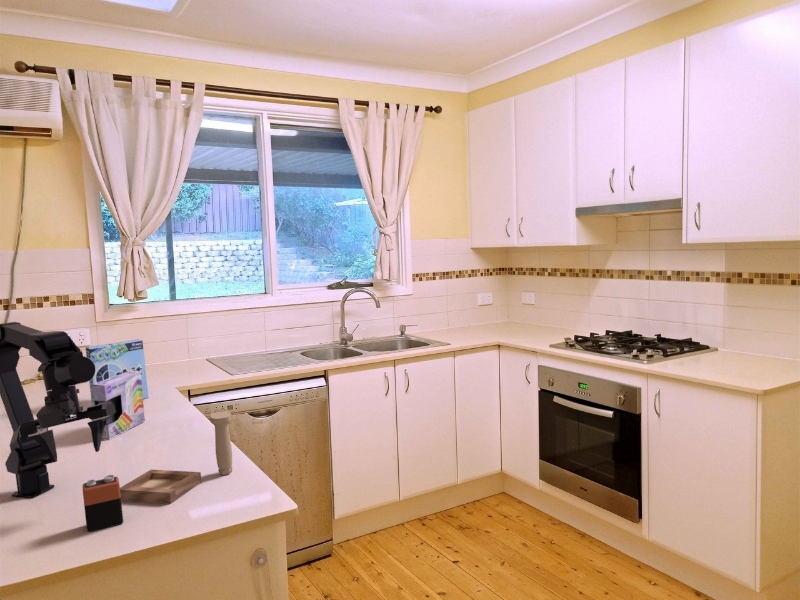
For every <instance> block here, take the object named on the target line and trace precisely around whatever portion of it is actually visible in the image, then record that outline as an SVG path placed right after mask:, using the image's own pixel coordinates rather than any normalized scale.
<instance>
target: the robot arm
mask: <svg viewBox="0 0 800 600" xmlns="http://www.w3.org/2000/svg"><path fill="white" fill-rule="evenodd" d="M22 348H24V349H26V350H28V355H29V356H31V357H32V358H33V359H35V360H36V361H38V362H39V363H41V364H40V365H39V366H38V367H37V372H38V373H41V374H42V378H43V379H42V380H43V384H44V387H45V392H46V396H44V405H43V406H42V407H41V408H40V409H39V410H38V411H37V413H36V414H35V416H36V419H35V417H34V415H33V412H32V409H31V406H30V404H29V401H28V398H27V395H26V392H25V390H24V387H23V384H22V381H21V379H20V376H19V374H18V371H17V366H18V364H19V360H20V358H21V357H20V356H21V355H20V353H19V352H20V350H21V349H22ZM94 374H95V365H94V364H93V362H92V361H91V360H90V359H89V358H87V356H84V354H83V351H82V349H80V348H79V347H78V346H77V345H76V344H75V342H74V341H73V338H71V337H70V336H69V334H68V333H67V332H65V331H64V330H53V331H52V330H51V331H42V330H39V329H36V328H33V327H29V326H26V325H23V324H21V323H20V322H17V321H10V322H5V323H0V398H1V401H2V404H3V406H4V409H5V410H4V411H5V412H6V415H7V418H8V420H9V421H8V422H9V424H10V426H11V429H12V436H11V439H10V443H9V448H10V453H9V454H8V456H7V458H6V460H5V462H4V463H5V464H4V465H5V467H6V471H7V473H10V474H14V475H15V480H16V488H17V489H16V490H17V491H15V492H13V493H11V497H20V498H36V497H38V496H39V495H42V494H44V493H45V492H47V491H49V490H51V489H53V488H55V484H50V478H49V477H50V476H49V471H48V468H47V467H48V466H47V465H49V464H53V463H56V462H58V453H57V452H58V451H57V447H56V442H55V436H54V431H53V429H49V428H52V427H56V426H60V425H64V424H65V425H66V424H68V423H69V424H70V423H73V422H77V421H82V420H85V419H89V420H91V421H88V422H87V423H86V424H87V426H88V427H89V429H90V431H91V432H90V433H91V437H92V439H91V440H92V443H93V448H94V451H95V453H98V452H100V448H101V446H102V445H101V444H102V441H103V440H102V435H103V431H104V427H105V424H106V421H107V419H109V418H111V416H109V415H111V414H114V413H116V410H115V406H114V404H113V403H112V402H107V403H102V404H98V405H94V406H92V405H91V406H89V407H87V408H86V410H84V405H82V406H81V403H80V399H79V396H78V394H80V388H77V386H76V385H81V384H85V383H87V382H89V381H90V380H91V379H92V378H93V376H94Z"/></svg>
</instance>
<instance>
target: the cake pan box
mask: <svg viewBox="0 0 800 600" xmlns="http://www.w3.org/2000/svg"><path fill="white" fill-rule="evenodd" d="M93 395H94V405H98V404H102V403H107V402H112V403H113V404H114V406H115V410H116V413H114V414H111V415H109V416H111V418H109V419H107V421H106V424H105V427H104V431H103V435H102V439H110V438H112V437H114V436H116V435H118V434H120V433H122V432H123V433H125V432H127V431H129V430H131V429H132V427H133V428H135V427H137V426H138V425H140V424H141V423H144V422H145V421H146V419H145V405H144V404H145V403H144V399H143V393H142V380H141V371H128V372H125V373H122V374H120V375H116V376H113V377H110V378H108V379H106V380H103V381H101V382H98V383H95V384H93ZM134 426H135V427H134ZM130 428H131V429H130ZM128 429H129V430H128ZM126 430H127V431H126ZM124 431H125V432H124ZM123 433H122V434H123ZM120 435H121V434H120ZM118 436H119V435H118ZM116 437H117V436H116ZM114 438H115V437H114ZM112 439H113V438H112ZM110 440H111V439H110Z"/></svg>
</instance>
